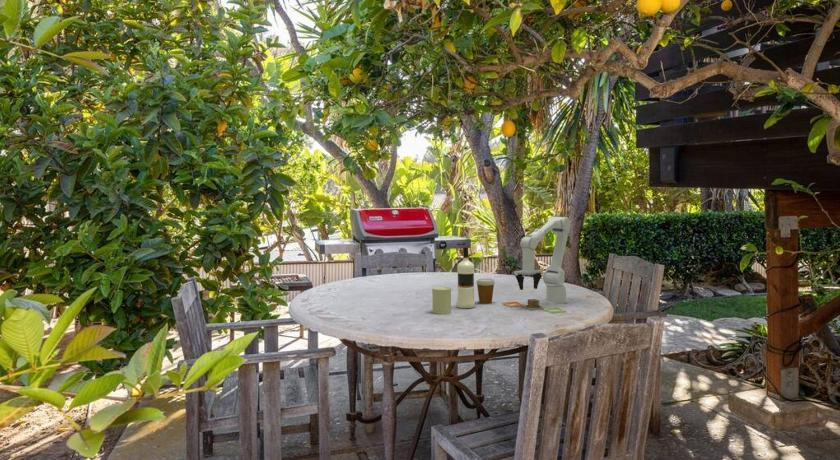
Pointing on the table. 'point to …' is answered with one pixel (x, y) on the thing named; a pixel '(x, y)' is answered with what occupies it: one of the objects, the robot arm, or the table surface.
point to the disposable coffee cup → (485, 290)
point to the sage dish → (554, 310)
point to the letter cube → (533, 303)
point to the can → (441, 300)
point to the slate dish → (532, 308)
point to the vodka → (465, 282)
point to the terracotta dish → (512, 304)
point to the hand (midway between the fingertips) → (528, 289)
